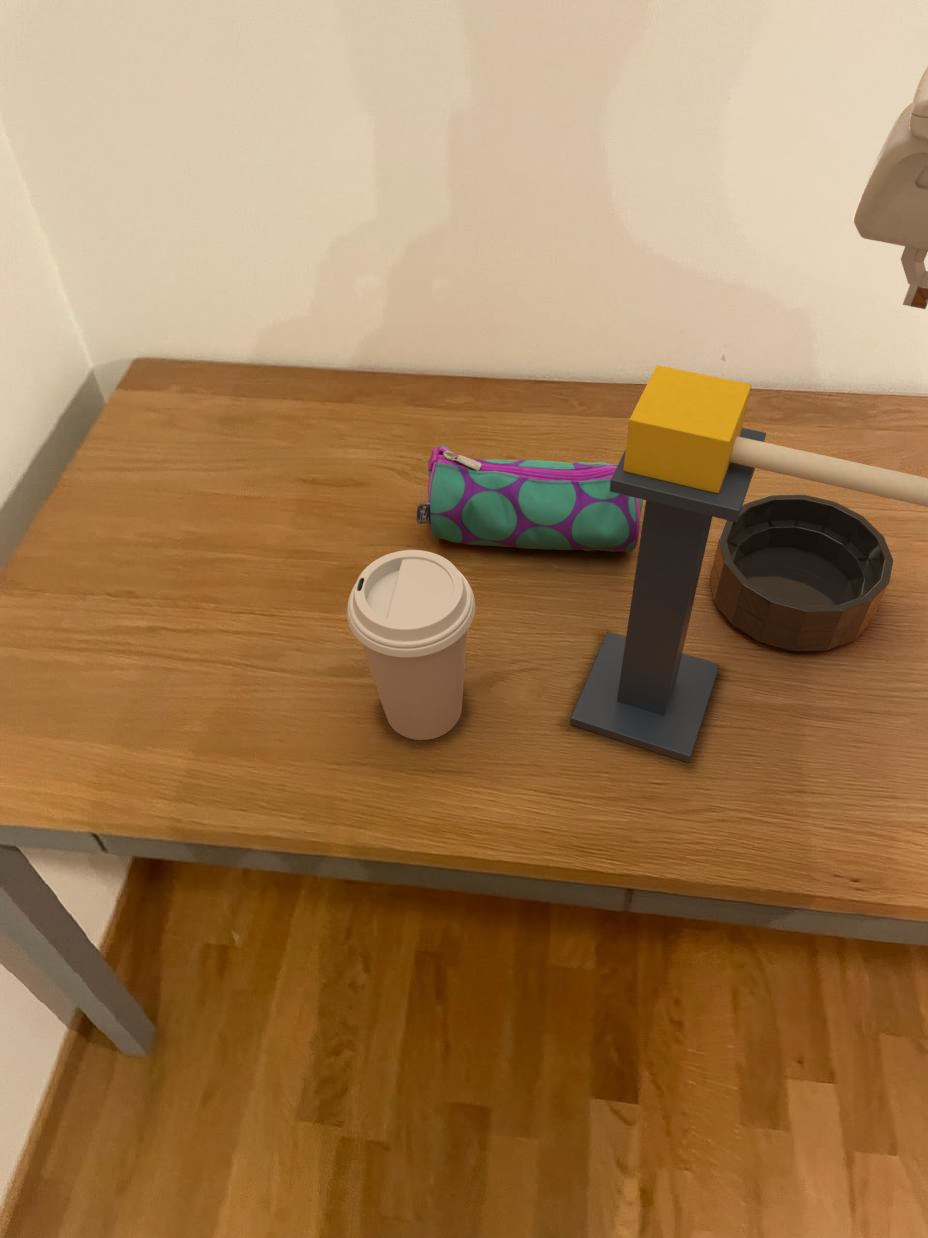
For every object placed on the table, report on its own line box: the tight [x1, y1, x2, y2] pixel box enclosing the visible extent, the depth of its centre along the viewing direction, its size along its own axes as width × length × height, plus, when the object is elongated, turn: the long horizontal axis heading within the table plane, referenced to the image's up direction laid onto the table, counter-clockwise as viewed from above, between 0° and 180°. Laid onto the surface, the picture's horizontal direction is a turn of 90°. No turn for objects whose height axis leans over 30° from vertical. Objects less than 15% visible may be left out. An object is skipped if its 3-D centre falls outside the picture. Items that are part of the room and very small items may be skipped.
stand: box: [569, 426, 767, 764], centre depth 68 cm, size 10×10×26 cm
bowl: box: [709, 493, 894, 652], centre depth 83 cm, size 14×14×6 cm
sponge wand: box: [623, 364, 928, 508], centre depth 55 cm, size 19×6×4 cm, turn 67°
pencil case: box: [416, 444, 644, 553], centre depth 88 cm, size 21×9×10 cm, turn 82°
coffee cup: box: [346, 549, 476, 741], centre depth 73 cm, size 10×10×15 cm
